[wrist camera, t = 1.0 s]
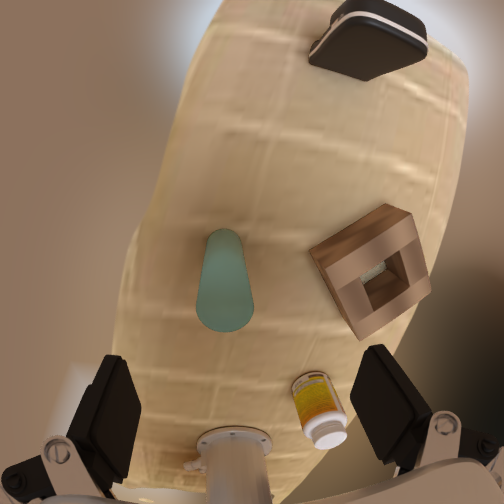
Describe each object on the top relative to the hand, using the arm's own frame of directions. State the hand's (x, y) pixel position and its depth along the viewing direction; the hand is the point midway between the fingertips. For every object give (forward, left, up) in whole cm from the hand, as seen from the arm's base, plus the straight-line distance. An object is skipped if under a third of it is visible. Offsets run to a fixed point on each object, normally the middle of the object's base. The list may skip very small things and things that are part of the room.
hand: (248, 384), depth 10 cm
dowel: (-1, 0, -19) cm, 19 cm away
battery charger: (+19, +11, -19) cm, 29 cm away
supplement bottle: (-2, -23, -19) cm, 30 cm away
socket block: (+11, -10, -19) cm, 24 cm away
